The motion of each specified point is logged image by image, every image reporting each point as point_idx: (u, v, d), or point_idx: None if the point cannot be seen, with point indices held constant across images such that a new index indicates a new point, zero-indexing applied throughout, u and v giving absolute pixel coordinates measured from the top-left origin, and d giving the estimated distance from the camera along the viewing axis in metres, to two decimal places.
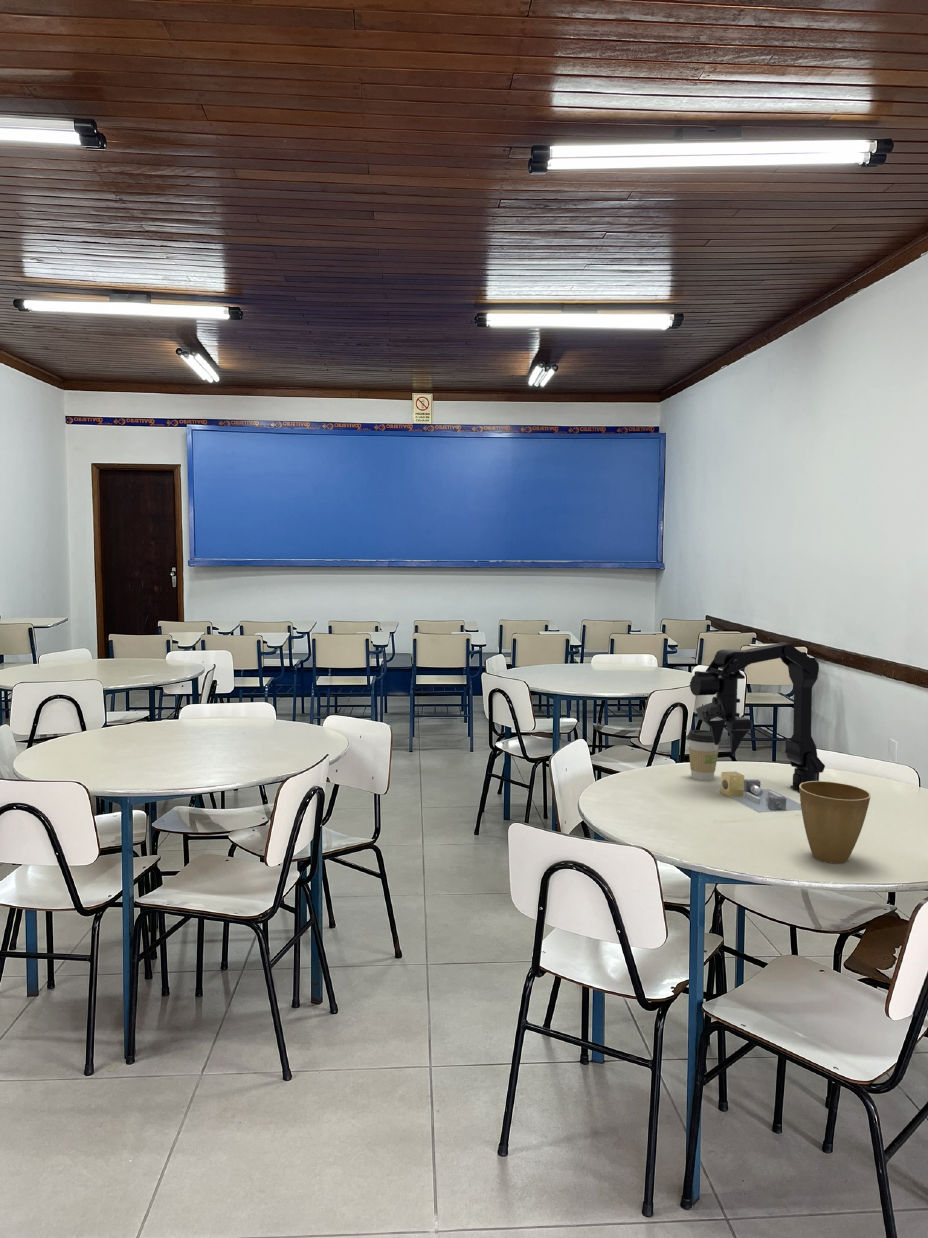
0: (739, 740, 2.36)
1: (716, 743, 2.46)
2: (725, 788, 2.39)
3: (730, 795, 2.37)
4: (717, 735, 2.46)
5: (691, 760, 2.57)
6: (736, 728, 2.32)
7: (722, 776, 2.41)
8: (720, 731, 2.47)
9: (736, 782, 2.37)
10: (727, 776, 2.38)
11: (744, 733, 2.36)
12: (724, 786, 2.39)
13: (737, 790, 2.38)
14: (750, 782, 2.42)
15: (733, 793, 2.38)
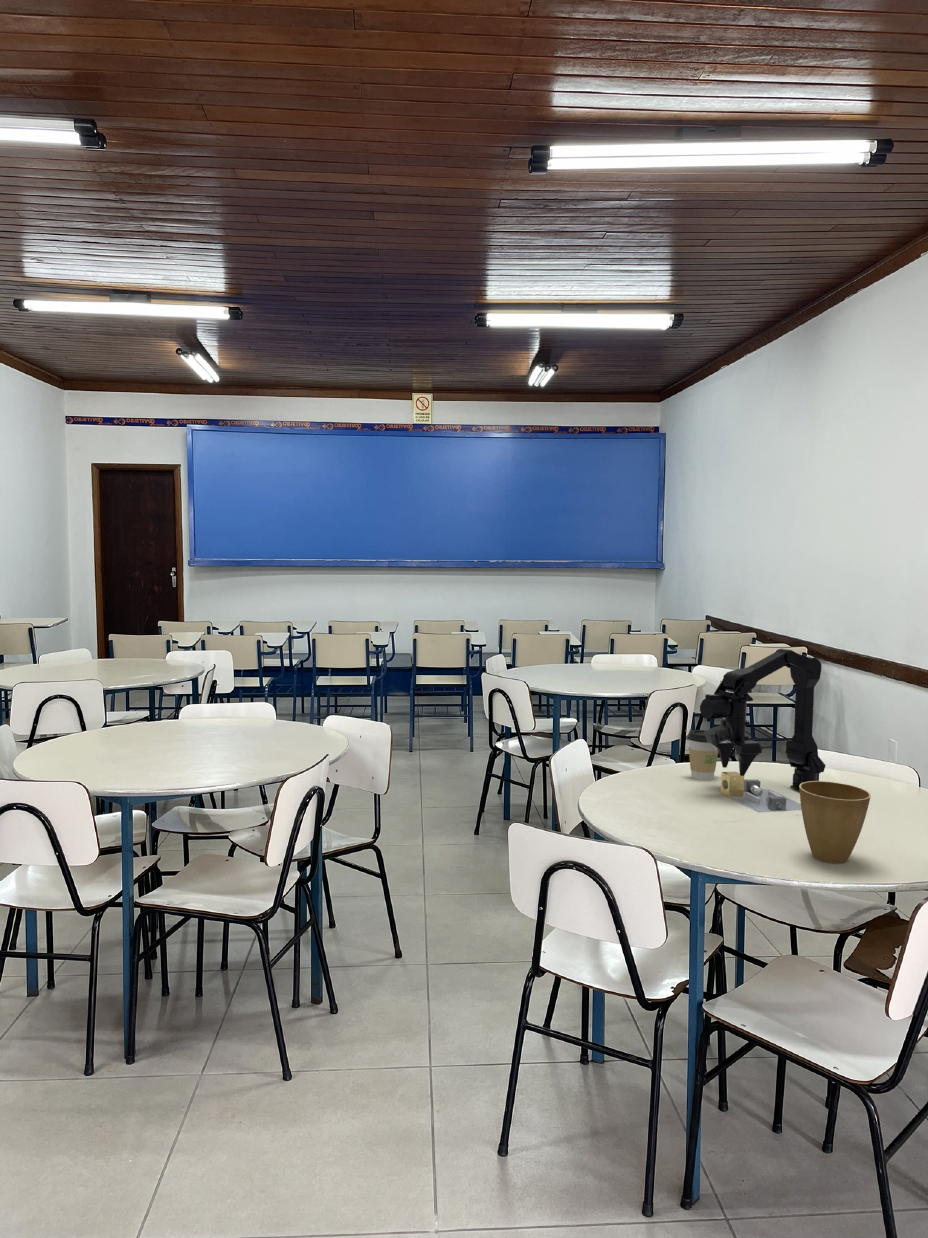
0: (748, 764, 2.34)
1: (724, 766, 2.44)
2: (725, 788, 2.39)
3: (730, 795, 2.37)
4: (725, 758, 2.44)
5: (691, 760, 2.57)
6: (745, 752, 2.29)
7: (722, 776, 2.41)
8: (728, 754, 2.44)
9: (736, 782, 2.37)
10: (727, 776, 2.38)
11: (753, 757, 2.33)
12: (724, 786, 2.39)
13: (737, 790, 2.38)
14: (750, 782, 2.42)
15: (733, 793, 2.38)
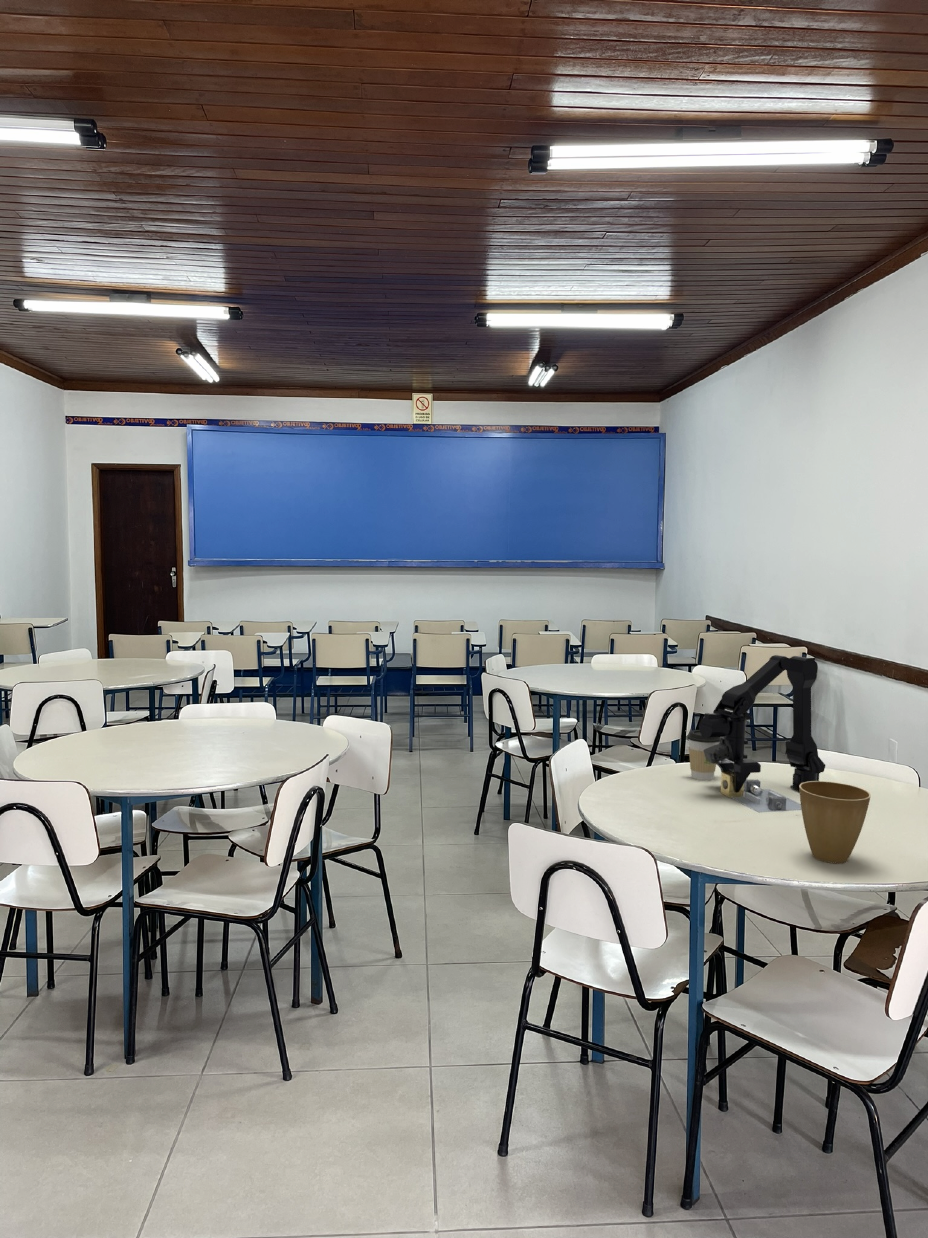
0: (743, 780, 2.36)
1: None
2: (725, 788, 2.39)
3: (730, 795, 2.37)
4: None
5: (691, 760, 2.57)
6: (744, 771, 2.30)
7: (722, 776, 2.41)
8: None
9: None
10: (727, 776, 2.38)
11: (748, 774, 2.36)
12: (724, 786, 2.39)
13: None
14: (750, 782, 2.42)
15: (733, 793, 2.38)
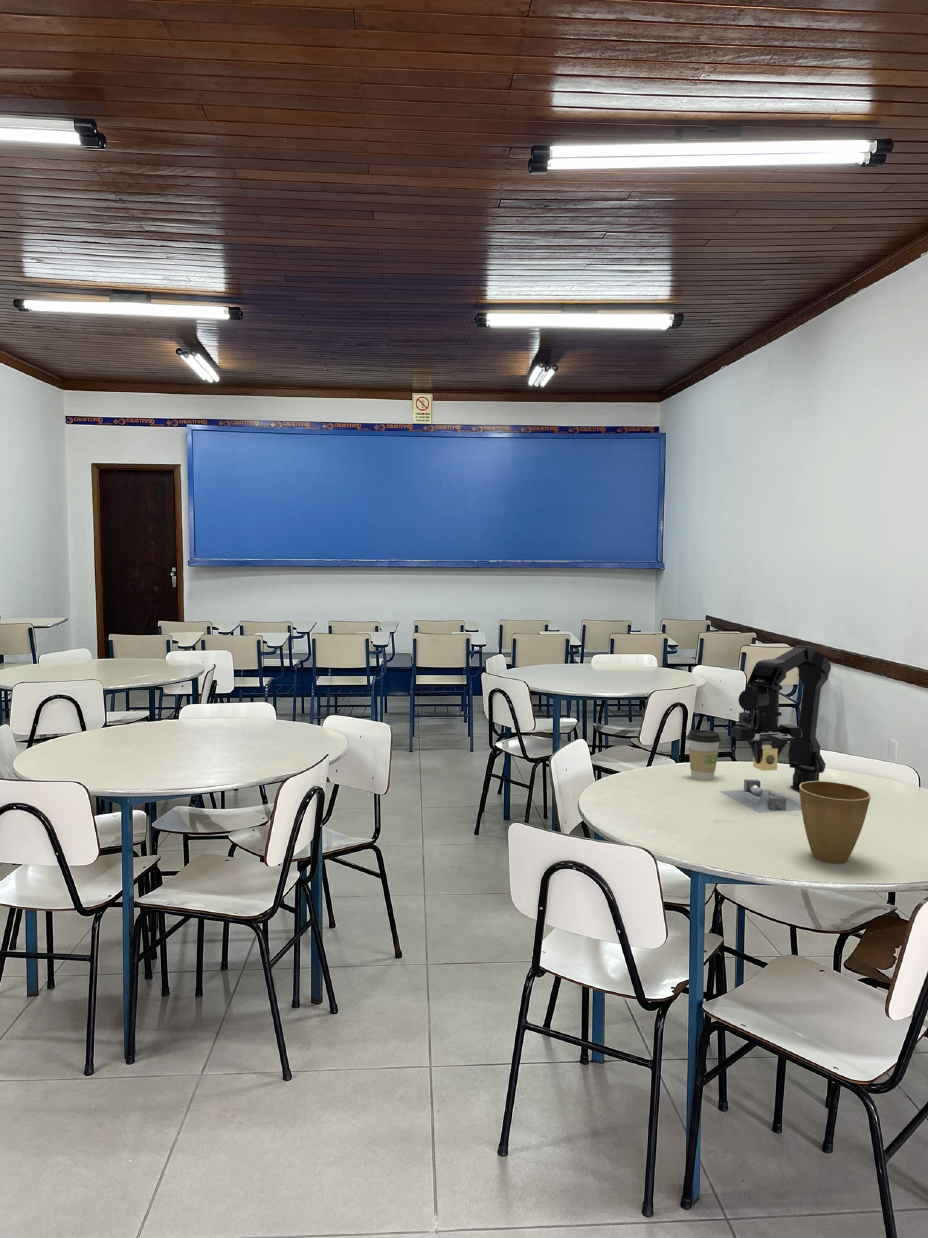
0: (756, 751, 2.32)
1: None
2: None
3: (754, 765, 2.36)
4: None
5: (691, 760, 2.57)
6: (731, 734, 2.34)
7: None
8: None
9: None
10: None
11: (756, 745, 2.31)
12: None
13: (758, 763, 2.34)
14: (750, 782, 2.42)
15: (756, 764, 2.35)
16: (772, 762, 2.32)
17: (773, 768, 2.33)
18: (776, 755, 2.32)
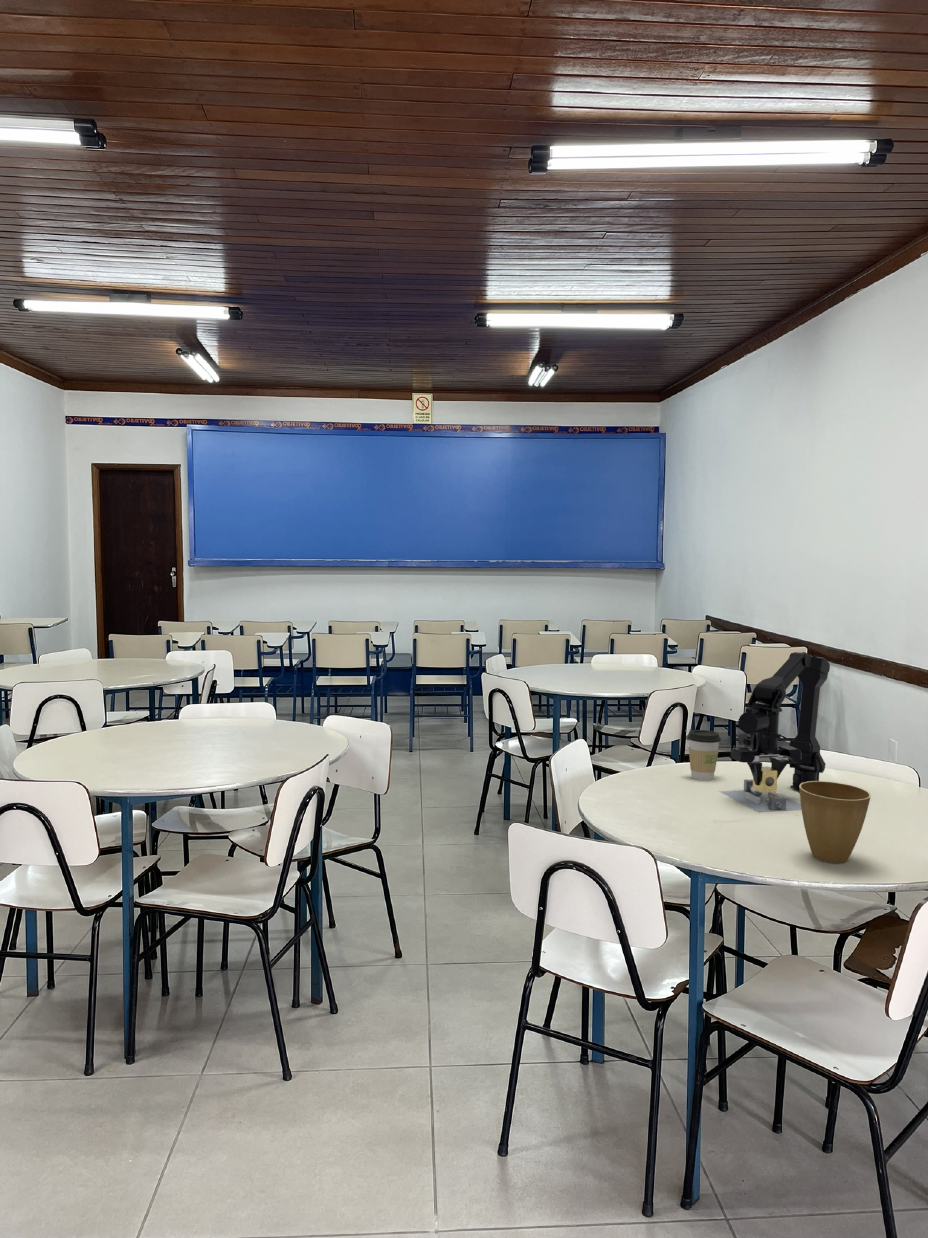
0: (755, 773, 2.33)
1: None
2: None
3: (753, 787, 2.36)
4: None
5: (691, 760, 2.57)
6: (731, 756, 2.34)
7: None
8: None
9: None
10: None
11: (755, 767, 2.31)
12: None
13: None
14: (750, 782, 2.42)
15: (755, 786, 2.35)
16: (772, 784, 2.33)
17: (773, 790, 2.33)
18: (776, 777, 2.33)
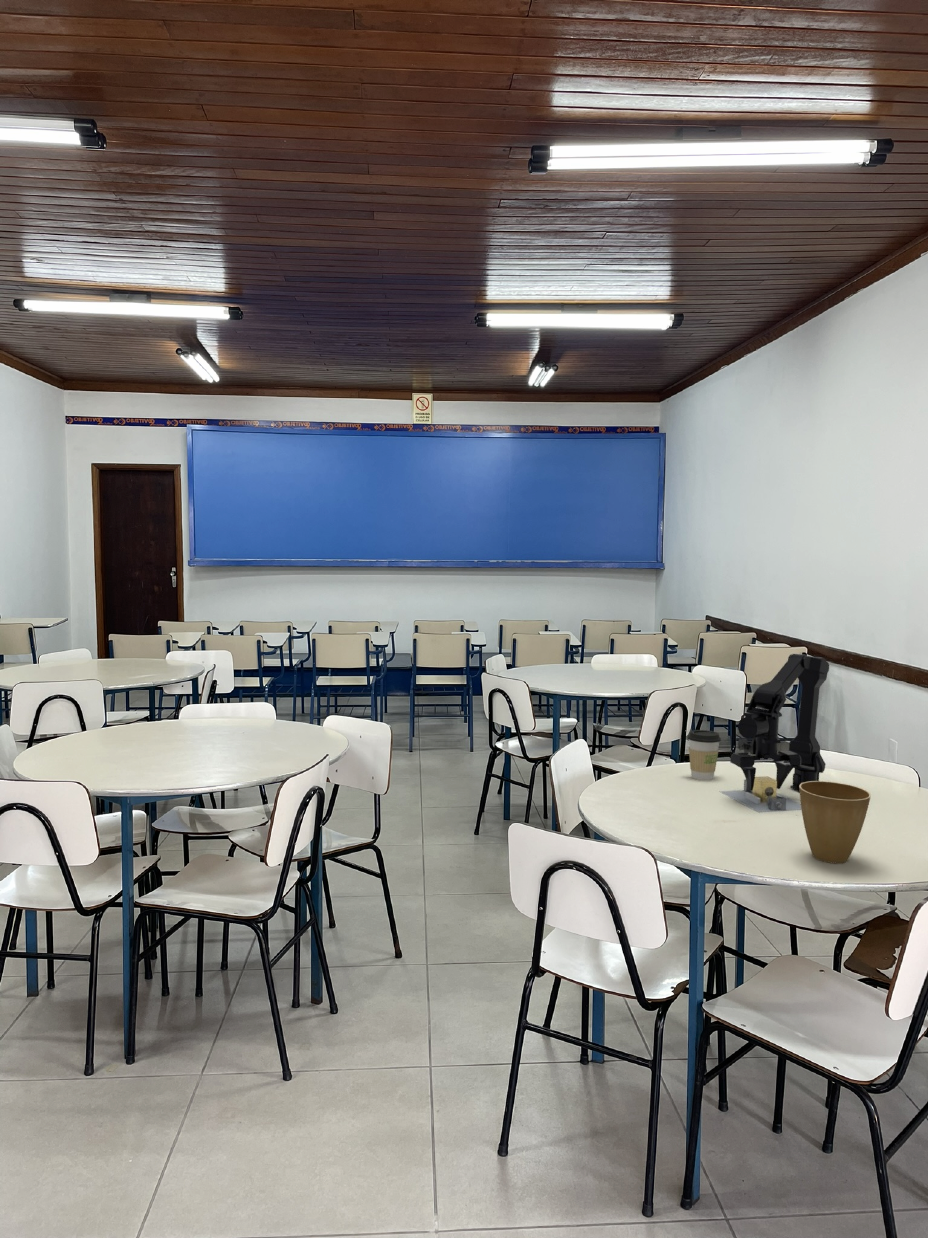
0: (749, 778, 2.32)
1: (777, 787, 2.36)
2: None
3: None
4: (778, 779, 2.35)
5: (691, 760, 2.57)
6: (731, 761, 2.34)
7: None
8: (781, 776, 2.34)
9: (757, 785, 2.34)
10: None
11: (749, 772, 2.31)
12: None
13: (757, 794, 2.34)
14: None
15: None
16: (771, 794, 2.33)
17: None
18: (775, 787, 2.33)
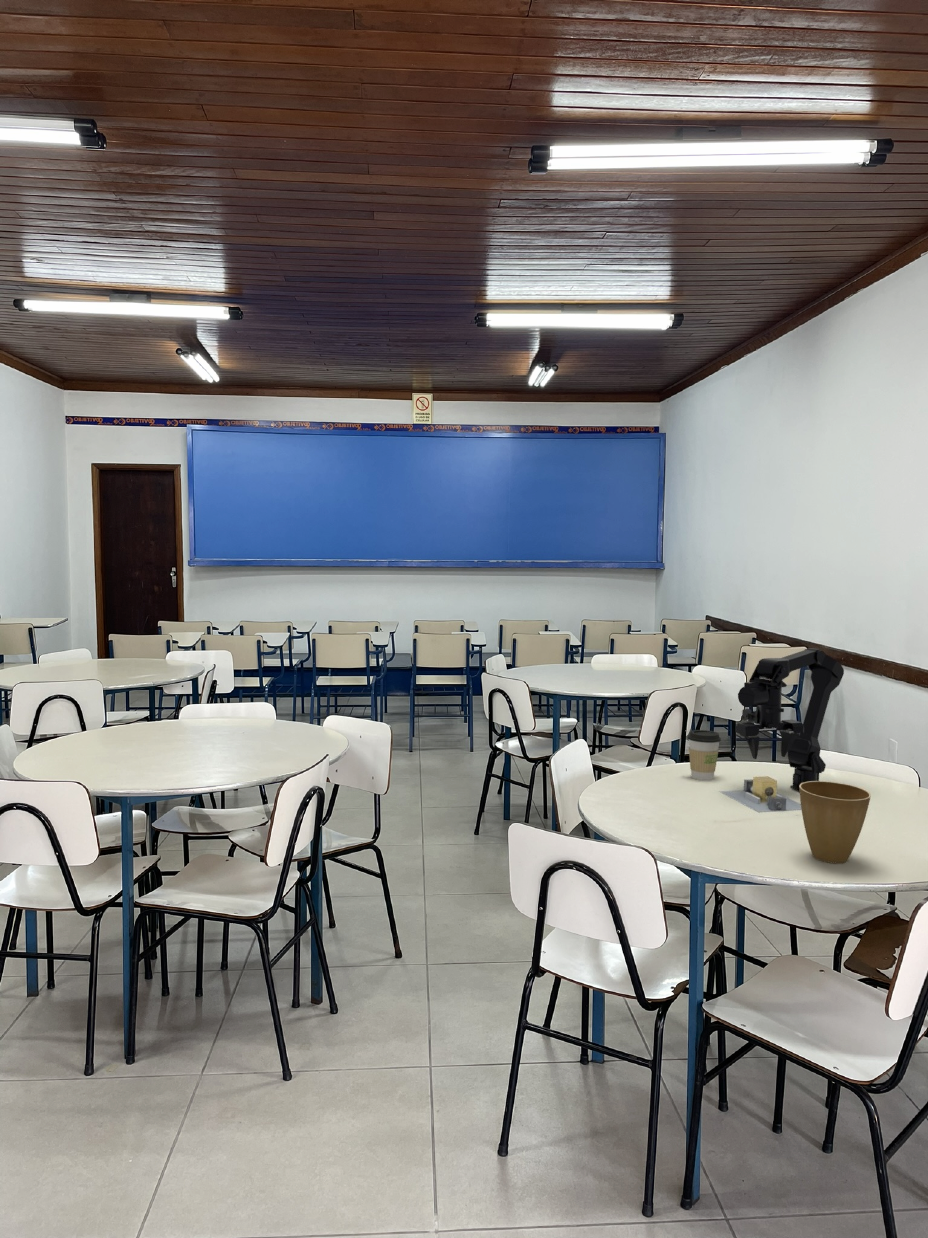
0: (753, 747, 2.38)
1: (782, 755, 2.42)
2: None
3: None
4: (783, 747, 2.42)
5: (691, 760, 2.57)
6: (736, 731, 2.40)
7: None
8: (786, 744, 2.41)
9: (757, 785, 2.34)
10: None
11: None
12: None
13: (757, 794, 2.34)
14: (750, 782, 2.42)
15: None
16: (771, 794, 2.33)
17: None
18: (775, 787, 2.33)
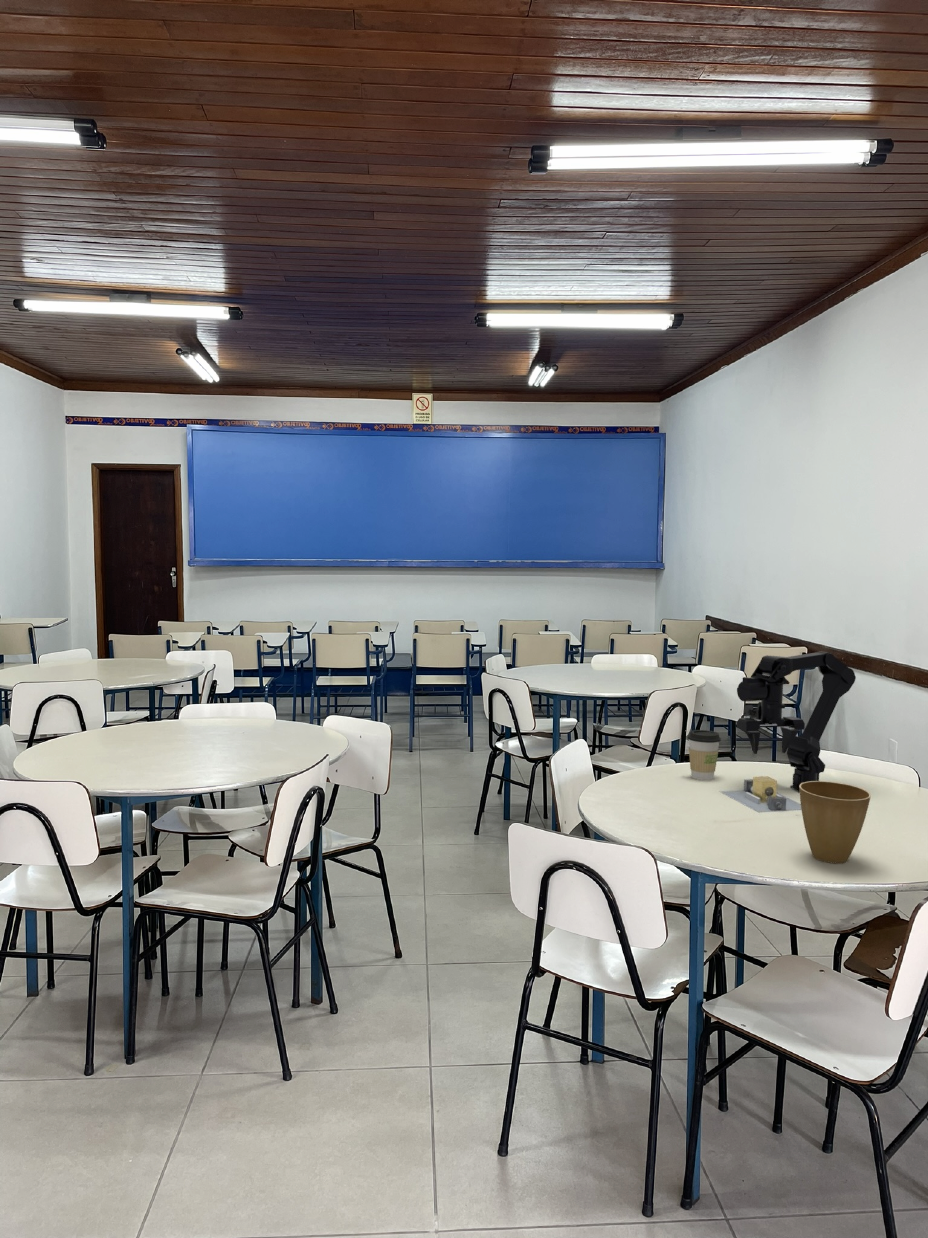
0: (754, 742, 2.42)
1: (782, 751, 2.46)
2: None
3: None
4: (784, 743, 2.45)
5: (691, 760, 2.57)
6: (737, 726, 2.44)
7: None
8: (787, 740, 2.44)
9: (757, 785, 2.34)
10: None
11: (754, 736, 2.41)
12: None
13: (757, 794, 2.34)
14: (750, 782, 2.42)
15: None
16: (771, 794, 2.33)
17: None
18: (775, 787, 2.33)
